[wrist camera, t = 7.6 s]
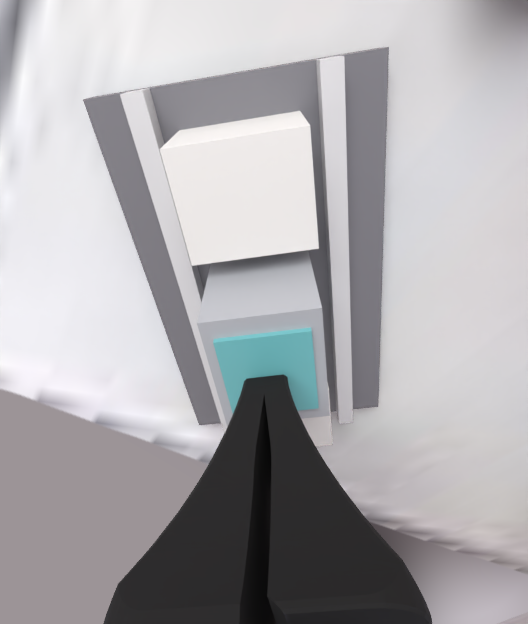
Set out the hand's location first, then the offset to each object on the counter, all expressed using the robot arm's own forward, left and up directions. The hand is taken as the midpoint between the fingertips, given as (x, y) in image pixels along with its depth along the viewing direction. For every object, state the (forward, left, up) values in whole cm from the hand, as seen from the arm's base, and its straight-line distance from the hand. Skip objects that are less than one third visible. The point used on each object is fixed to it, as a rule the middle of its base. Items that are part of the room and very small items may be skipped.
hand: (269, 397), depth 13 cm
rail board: (0, 0, -8) cm, 8 cm away
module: (0, 0, -7) cm, 7 cm away
